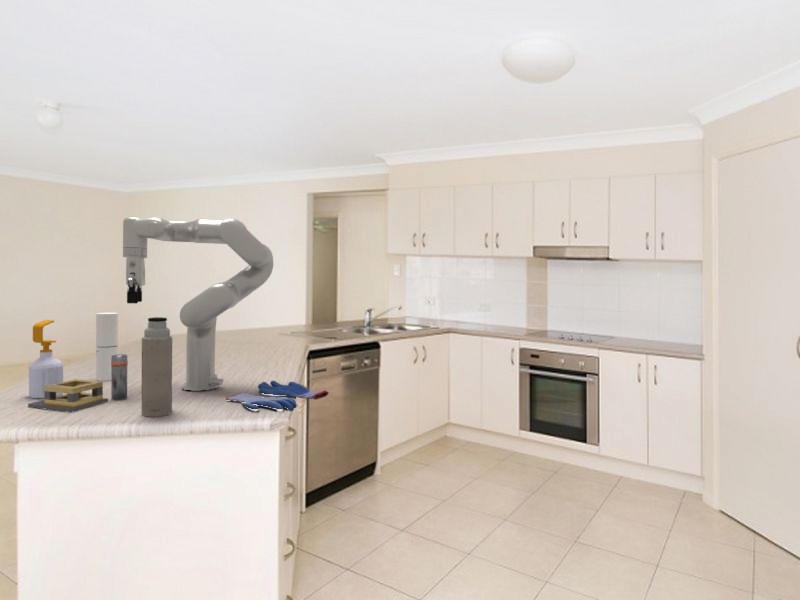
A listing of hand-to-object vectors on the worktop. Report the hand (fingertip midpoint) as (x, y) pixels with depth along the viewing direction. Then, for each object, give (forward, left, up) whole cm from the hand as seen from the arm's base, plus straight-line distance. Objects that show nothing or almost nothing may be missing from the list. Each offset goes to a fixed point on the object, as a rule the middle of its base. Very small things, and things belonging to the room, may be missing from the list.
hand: (134, 302), depth 174 cm
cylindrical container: (+20, -9, -30) cm, 38 cm away
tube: (-7, +13, -30) cm, 34 cm away
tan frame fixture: (+1, +24, -30) cm, 39 cm away
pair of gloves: (-54, -4, -31) cm, 62 cm away
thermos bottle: (-30, +23, -30) cm, 48 cm away
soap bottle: (+17, +18, -31) cm, 40 cm away
